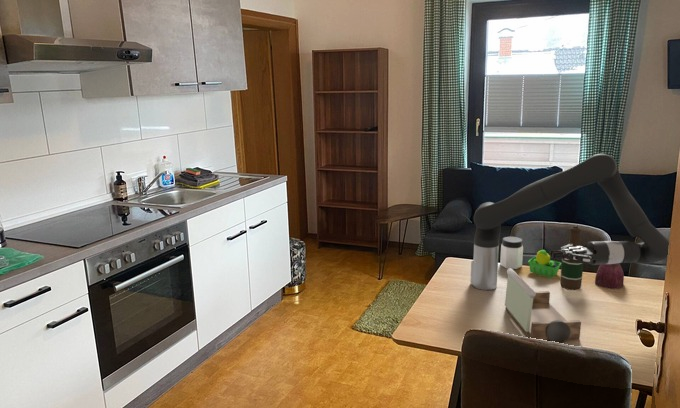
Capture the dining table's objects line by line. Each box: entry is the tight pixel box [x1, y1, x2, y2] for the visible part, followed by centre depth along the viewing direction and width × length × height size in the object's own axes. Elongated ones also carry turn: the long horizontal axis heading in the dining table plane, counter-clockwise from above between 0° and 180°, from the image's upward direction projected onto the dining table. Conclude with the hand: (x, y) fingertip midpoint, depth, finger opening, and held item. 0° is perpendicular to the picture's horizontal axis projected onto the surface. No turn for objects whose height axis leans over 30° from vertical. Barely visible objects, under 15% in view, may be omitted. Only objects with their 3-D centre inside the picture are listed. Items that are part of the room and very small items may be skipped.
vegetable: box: [594, 263, 625, 290], centre depth 195 cm, size 10×10×15 cm
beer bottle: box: [559, 226, 584, 291], centre depth 193 cm, size 8×8×24 cm
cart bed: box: [505, 290, 582, 344], centre depth 167 cm, size 15×27×7 cm, turn 2°
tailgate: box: [504, 268, 536, 332], centre depth 166 cm, size 2×19×14 cm, turn 2°
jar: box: [499, 236, 524, 270], centre depth 217 cm, size 9×8×12 cm
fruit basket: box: [527, 249, 562, 279], centre depth 207 cm, size 11×9×11 cm
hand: (551, 254), depth 162 cm, fingers closed
